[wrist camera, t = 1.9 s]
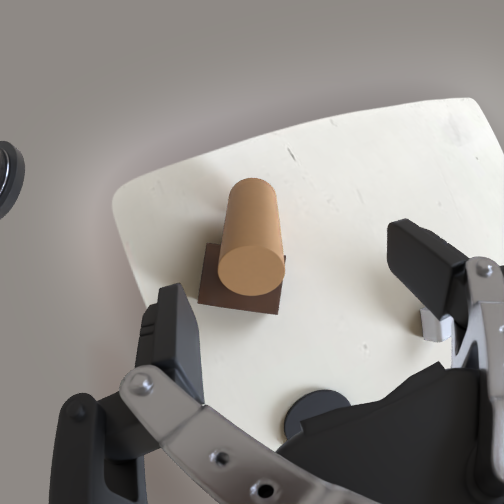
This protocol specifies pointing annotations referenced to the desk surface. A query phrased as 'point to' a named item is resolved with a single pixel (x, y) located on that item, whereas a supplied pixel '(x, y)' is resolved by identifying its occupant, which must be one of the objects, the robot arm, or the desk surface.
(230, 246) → the tan cylinder
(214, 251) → the walnut block
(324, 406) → the coaster
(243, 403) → the desk surface
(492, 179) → the desk surface
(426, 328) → the usb wall charger
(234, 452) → the robot arm
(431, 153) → the desk surface
